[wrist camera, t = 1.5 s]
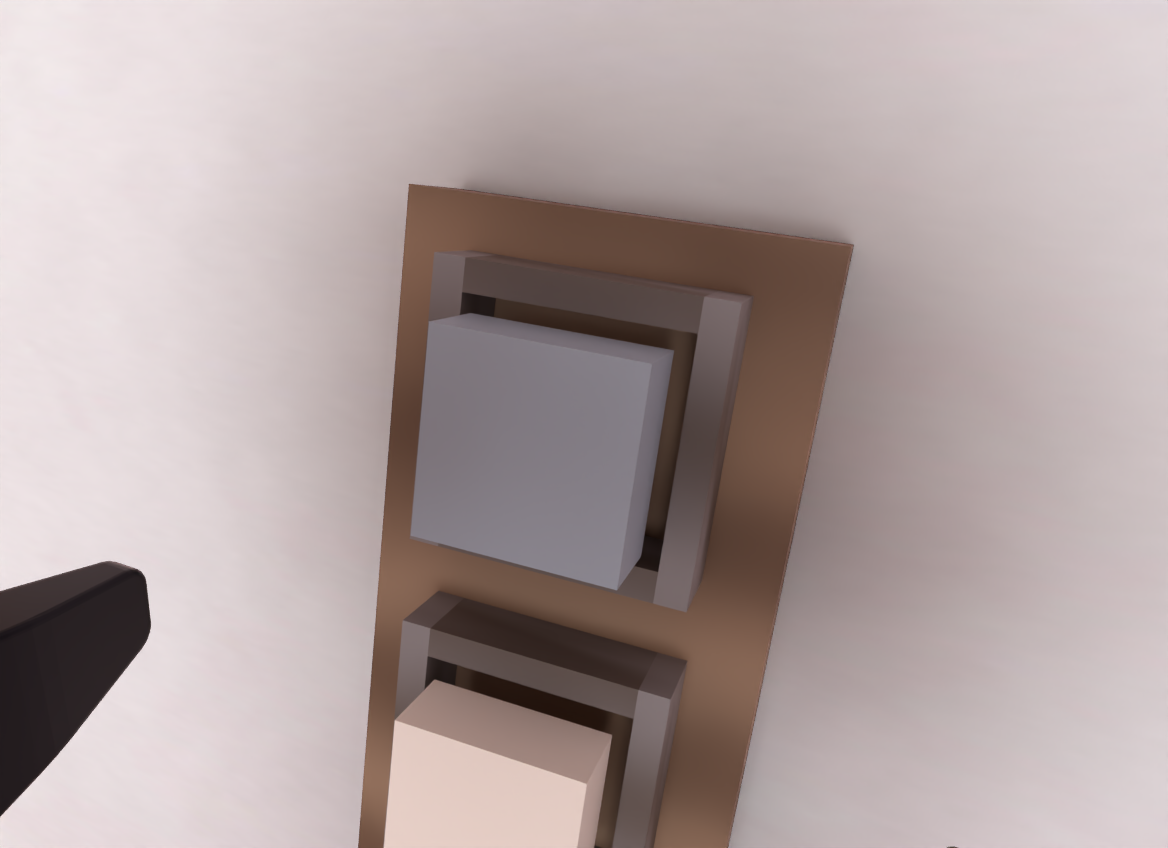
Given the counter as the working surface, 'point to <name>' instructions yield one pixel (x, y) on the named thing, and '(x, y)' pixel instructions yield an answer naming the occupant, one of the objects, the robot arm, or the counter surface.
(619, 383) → the slate key
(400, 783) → the beige key
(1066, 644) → the counter surface
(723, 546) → the keypad board
